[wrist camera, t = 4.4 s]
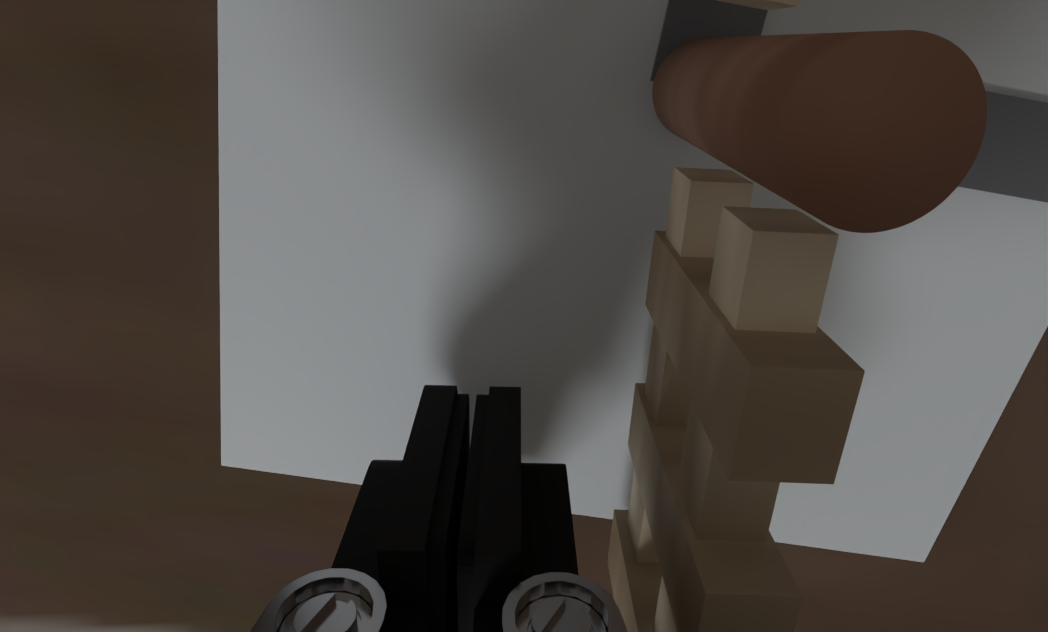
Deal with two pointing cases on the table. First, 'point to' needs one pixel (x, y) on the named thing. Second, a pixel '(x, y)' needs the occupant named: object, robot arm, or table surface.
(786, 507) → the card
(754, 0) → the fence fixed
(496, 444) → the robot arm
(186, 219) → the table surface
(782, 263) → the beige stepped wooden piece
